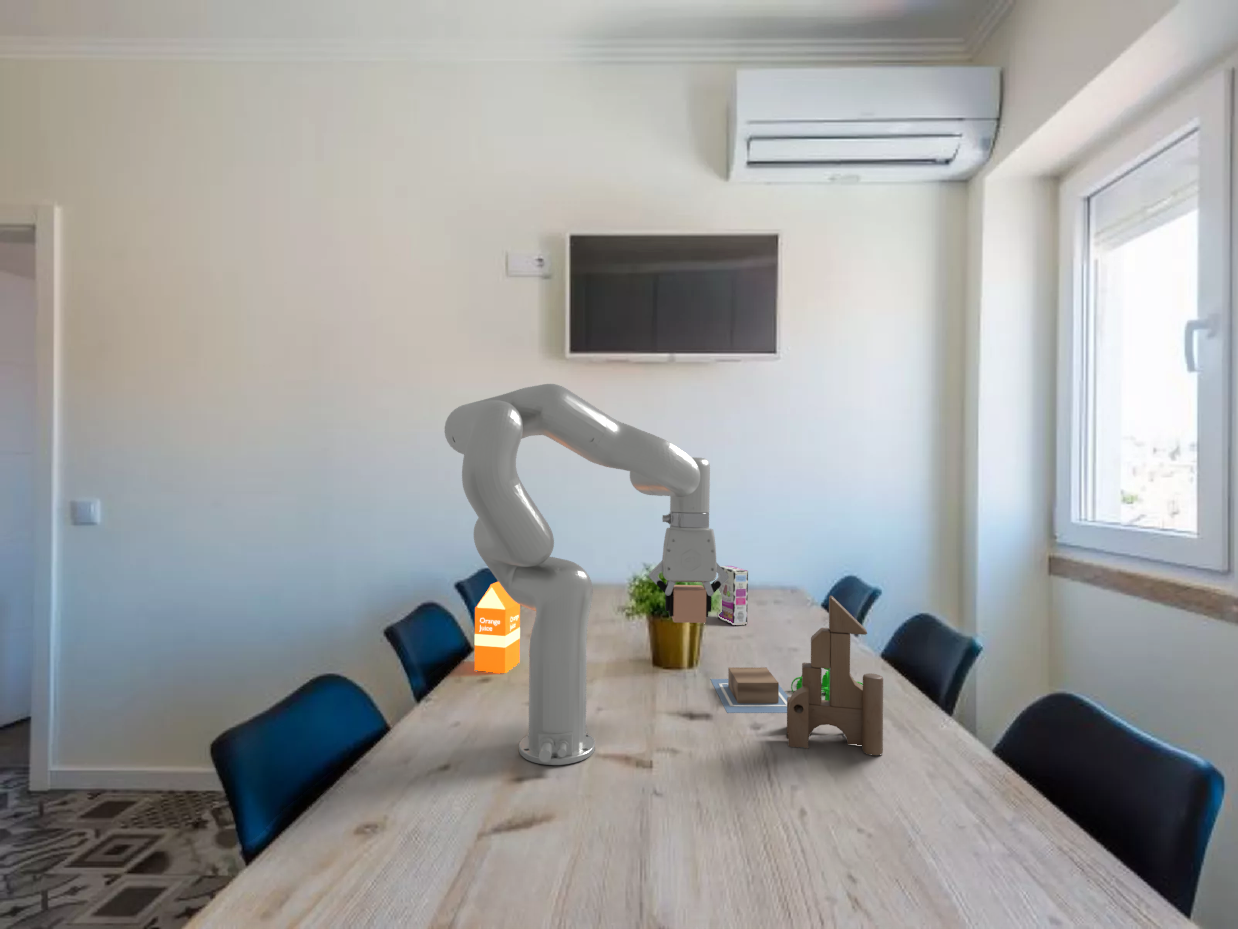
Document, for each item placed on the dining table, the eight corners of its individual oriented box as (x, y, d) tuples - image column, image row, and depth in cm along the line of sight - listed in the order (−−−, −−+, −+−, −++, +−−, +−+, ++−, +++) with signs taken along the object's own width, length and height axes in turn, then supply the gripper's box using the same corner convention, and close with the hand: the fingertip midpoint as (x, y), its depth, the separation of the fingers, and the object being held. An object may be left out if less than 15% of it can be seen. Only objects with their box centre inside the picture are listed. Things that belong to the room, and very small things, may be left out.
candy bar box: (748, 625, 201) (749, 570, 201) (733, 626, 199) (733, 571, 199) (731, 617, 212) (731, 564, 212) (716, 618, 210) (717, 565, 210)
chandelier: (872, 717, 129) (872, 681, 129) (791, 709, 133) (791, 674, 133) (863, 691, 144) (863, 658, 144) (790, 685, 147) (791, 653, 147)
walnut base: (778, 703, 132) (778, 682, 132) (737, 703, 132) (738, 682, 132) (766, 686, 142) (766, 667, 142) (728, 686, 142) (728, 667, 142)
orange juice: (473, 671, 155) (474, 583, 155) (490, 660, 163) (490, 577, 163) (505, 674, 153) (506, 585, 153) (520, 663, 161) (521, 579, 161)
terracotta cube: (705, 622, 127) (706, 590, 127) (674, 622, 127) (674, 590, 127) (701, 615, 133) (701, 585, 133) (670, 615, 133) (671, 584, 133)
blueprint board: (801, 717, 127) (801, 712, 127) (727, 718, 127) (727, 712, 127) (774, 683, 147) (774, 678, 147) (710, 683, 147) (710, 678, 147)
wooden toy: (786, 747, 114) (787, 599, 114) (787, 732, 121) (788, 592, 121) (884, 758, 110) (885, 605, 110) (879, 741, 117) (880, 597, 117)
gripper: (645, 522, 126) (644, 619, 126) (737, 523, 126) (736, 620, 126) (643, 519, 133) (642, 610, 133) (730, 520, 134) (729, 611, 134)
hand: (688, 614), depth 130 cm, fingers closed on terracotta cube, 6 cm apart
